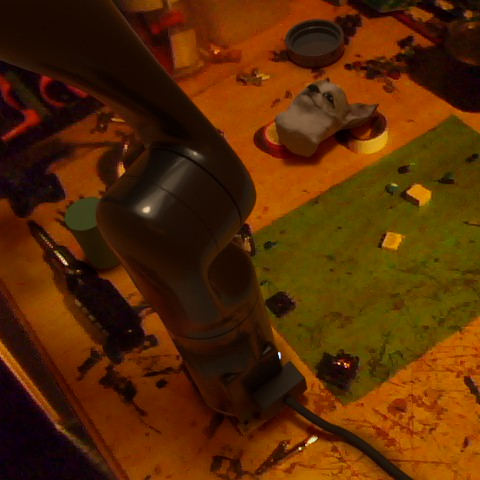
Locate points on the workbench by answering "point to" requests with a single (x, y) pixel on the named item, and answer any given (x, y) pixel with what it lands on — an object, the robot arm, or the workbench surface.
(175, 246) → the robot arm
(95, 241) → the green can
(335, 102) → the ceramic sculpture
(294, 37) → the dark grey jar lid
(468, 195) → the workbench surface
